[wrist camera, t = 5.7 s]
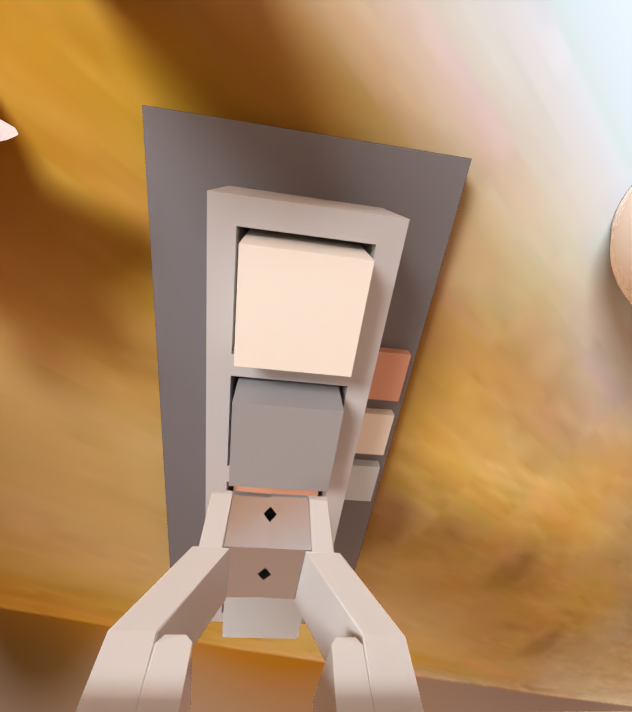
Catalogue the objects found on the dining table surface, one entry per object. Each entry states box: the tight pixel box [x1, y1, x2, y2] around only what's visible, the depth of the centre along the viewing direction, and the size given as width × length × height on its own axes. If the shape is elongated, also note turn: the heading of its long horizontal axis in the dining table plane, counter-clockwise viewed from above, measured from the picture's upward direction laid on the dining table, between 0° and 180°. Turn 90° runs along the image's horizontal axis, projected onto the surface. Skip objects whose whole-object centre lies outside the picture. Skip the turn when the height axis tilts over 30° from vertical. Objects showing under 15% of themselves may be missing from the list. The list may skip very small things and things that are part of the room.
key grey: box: [229, 376, 344, 492], centre depth 17 cm, size 4×4×4 cm
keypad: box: [142, 105, 471, 624], centre depth 21 cm, size 14×30×6 cm, turn 172°
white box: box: [222, 597, 302, 639], centre depth 23 cm, size 4×4×4 cm
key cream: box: [234, 228, 375, 377], centre depth 15 cm, size 4×4×4 cm
